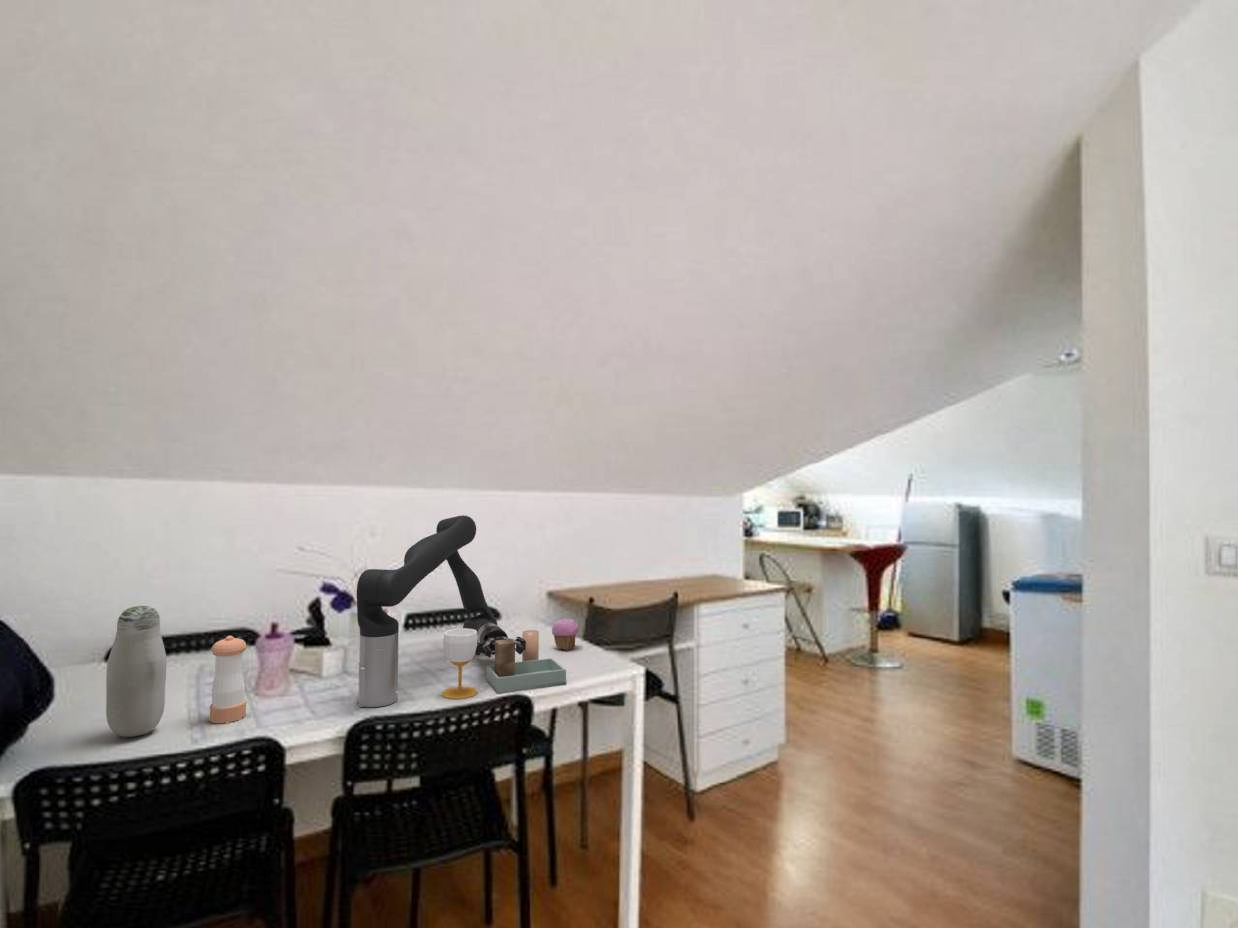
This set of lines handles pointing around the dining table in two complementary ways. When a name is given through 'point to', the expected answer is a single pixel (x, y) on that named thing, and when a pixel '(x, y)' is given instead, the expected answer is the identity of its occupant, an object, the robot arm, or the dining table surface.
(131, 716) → the grey bottle
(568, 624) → the cupcake
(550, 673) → the tray
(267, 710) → the dining table surface
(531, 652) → the terracotta cylinder
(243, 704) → the salt shaker
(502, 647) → the walnut block
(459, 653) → the cup
